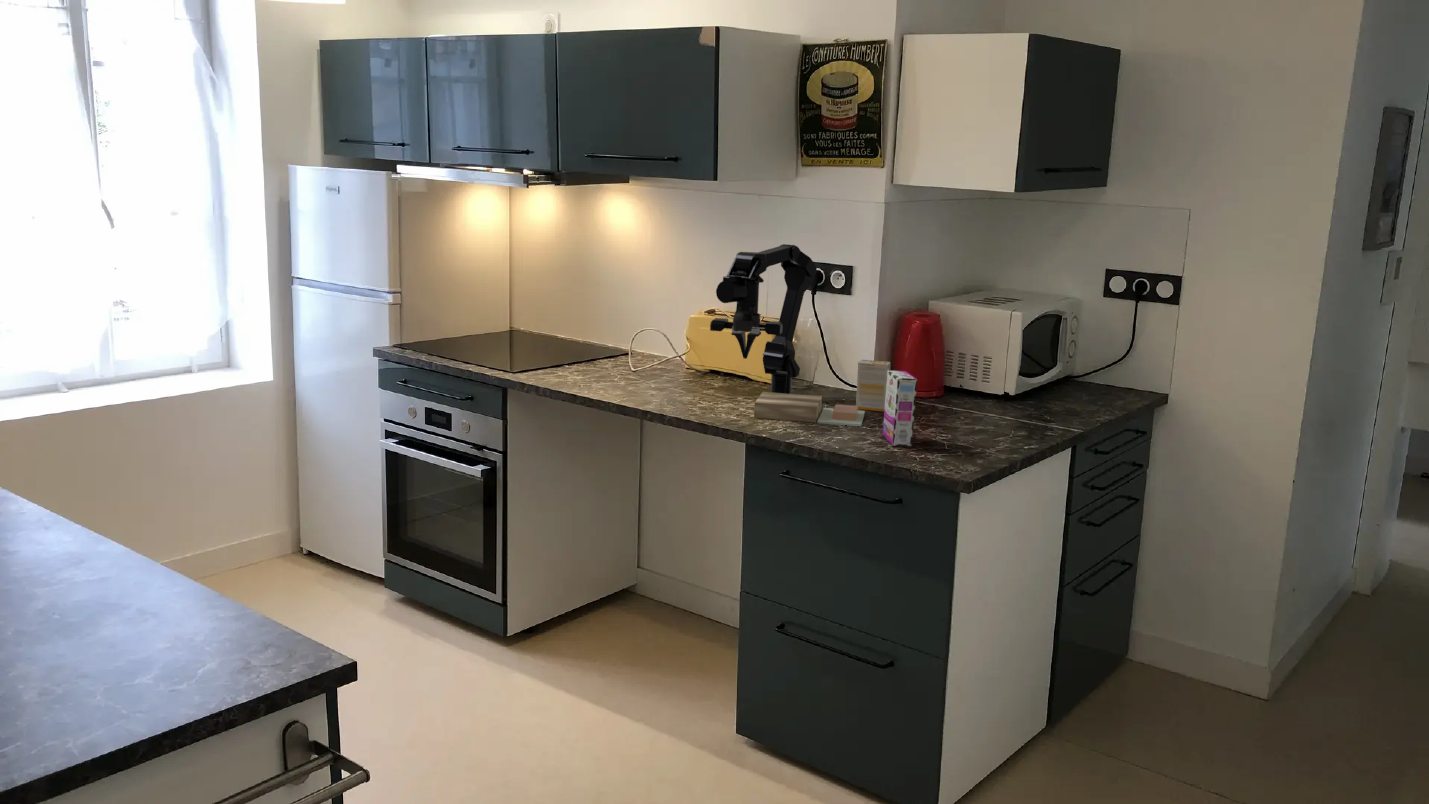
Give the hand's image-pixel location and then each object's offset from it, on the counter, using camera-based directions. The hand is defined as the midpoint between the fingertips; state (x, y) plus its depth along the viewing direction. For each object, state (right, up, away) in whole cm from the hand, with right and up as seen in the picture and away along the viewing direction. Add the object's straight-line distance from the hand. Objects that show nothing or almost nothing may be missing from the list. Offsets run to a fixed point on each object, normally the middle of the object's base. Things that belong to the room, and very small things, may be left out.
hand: (745, 358), depth 298 cm
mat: (+25, -16, -8) cm, 31 cm away
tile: (+26, -13, -9) cm, 30 cm away
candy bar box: (+36, -21, -30) cm, 51 cm away
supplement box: (+34, -14, +4) cm, 37 cm away
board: (+11, -15, -5) cm, 19 cm away
